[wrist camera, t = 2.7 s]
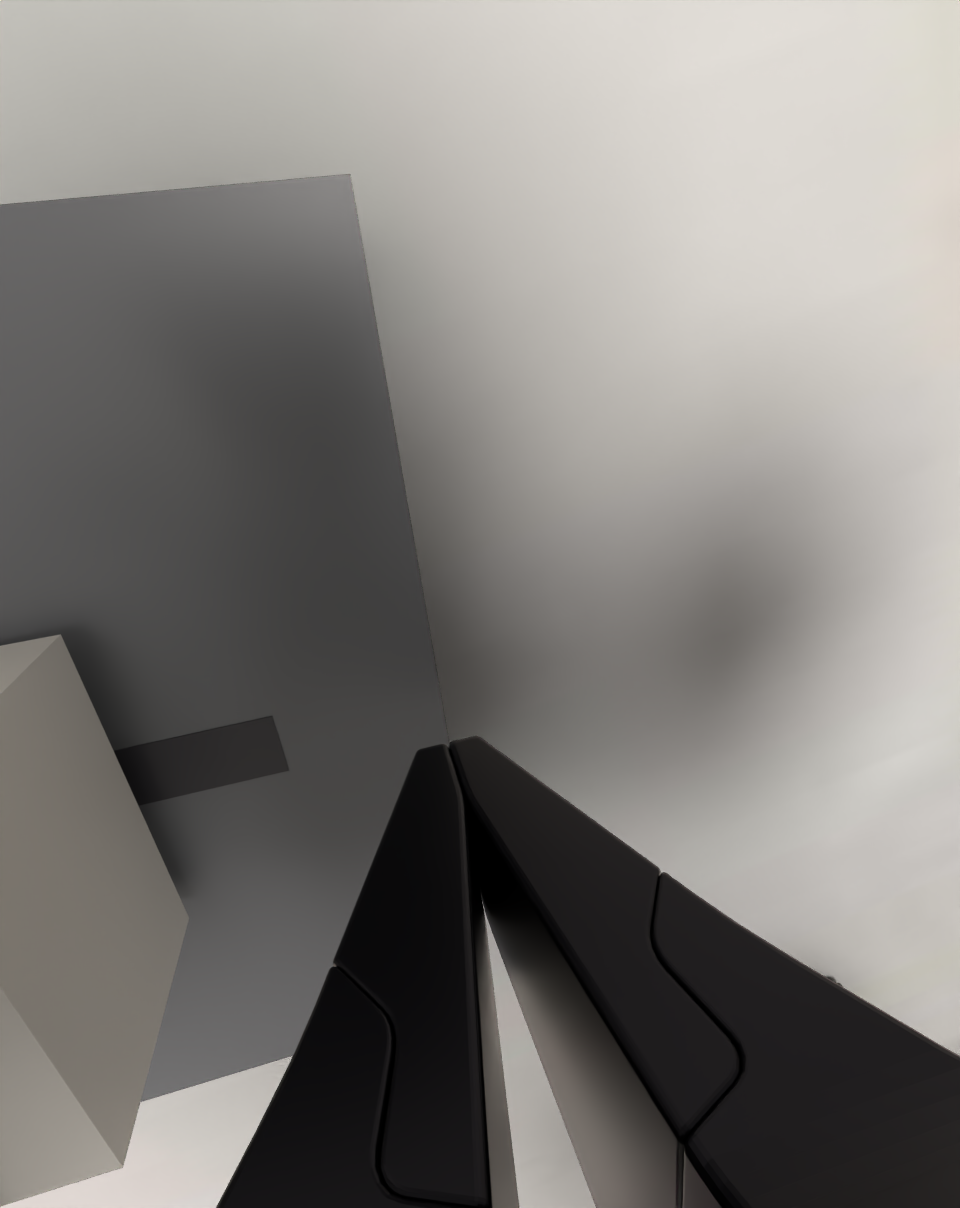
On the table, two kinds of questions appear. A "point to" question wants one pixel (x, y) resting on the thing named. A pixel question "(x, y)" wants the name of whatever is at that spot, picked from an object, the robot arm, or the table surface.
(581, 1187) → the table surface
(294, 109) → the table surface
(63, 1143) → the fader knob
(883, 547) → the table surface
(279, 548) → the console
